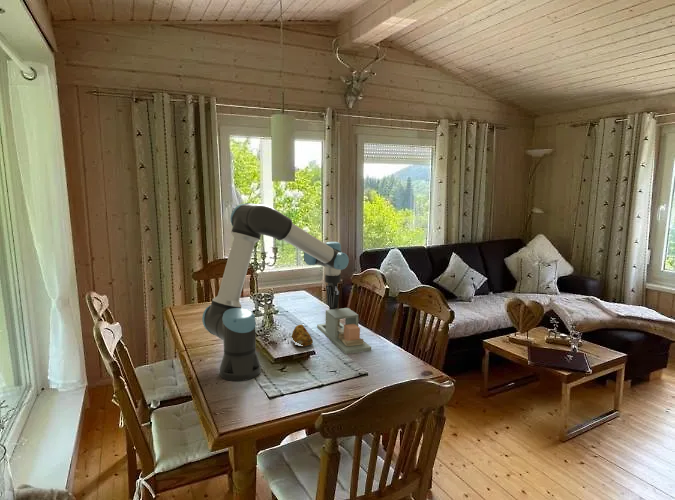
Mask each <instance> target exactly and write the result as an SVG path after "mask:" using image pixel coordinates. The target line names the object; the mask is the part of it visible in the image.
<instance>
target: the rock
mask: <svg viewBox="0 0 675 500" xmlns="http://www.w3.org/2000/svg"><path fill="white" fill-rule="evenodd" d="M291 337H292V338H293V340H294V341H295V342H297V343H299V344H301V345H303V346H302V347H307V346H311V345H313V343H314V341H313V338H312V336H311V334H310V333H309V332H308V331H307V328H306V327H305V326H304V325H303V324H297V325H296V326H295V327H294V329H293V330H292V334H291ZM292 338H291V339H292Z"/></svg>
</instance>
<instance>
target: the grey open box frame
mask: <svg viewBox="0 0 675 500" xmlns="http://www.w3.org/2000/svg"><path fill="white" fill-rule="evenodd" d="M340 323H341V319H338V333H339V334H338V335H337V338H338V339H339V340H341V341H342V342H343V343H344V344H345V345H346V346H354V345H361V344H363V341H364V338H361V339H357V340H350V341H347V340H346V339H344V331H343V330H342V329H341V328H340Z"/></svg>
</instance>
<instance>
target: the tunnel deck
mask: <svg viewBox="0 0 675 500" xmlns="http://www.w3.org/2000/svg"><path fill="white" fill-rule="evenodd" d="M338 319H340V320H345V324H343V323H342V322H340V328H341V329H342V330H343V331H344V325H348V324H355V325H357V326H358V327H359V314H358V313H356V312H355V311H354V310H351V308H350V307H344V308H342V307H341V308H337V309H332V310H329V309H326V310H325V323H318V324H317V325H316V327H317V329H318V330H319V331H320V332H321V333H323V335H324V336H326V338H328V339H329V340H330V341H331V342H332V343H333V344H334V345H335V346H336V347H337V348H339V350H341V352H343V353H344V354H345V355H349V354H357V353H362V352H369V351H372V346H371V345H369V344H368V343H367V342H365V341H364V340H363V344H361V345H354V346H346V345H345V344H344V343H343V342H342V341H341V340H339V339H338V338H337V335H338V334H339V333H338ZM360 339H362V338H361V337H360Z"/></svg>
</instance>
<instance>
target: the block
mask: <svg viewBox="0 0 675 500" xmlns="http://www.w3.org/2000/svg"><path fill="white" fill-rule="evenodd" d="M343 325H344V339H346V340H347V341H350V340H357V339H360V338H361V337H360V335H361V328H360V327H359V325H358V326H357V325H355V324H348V325H345V324H343Z"/></svg>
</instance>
